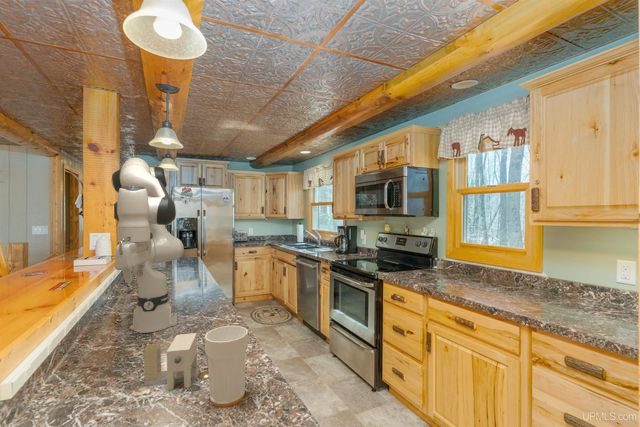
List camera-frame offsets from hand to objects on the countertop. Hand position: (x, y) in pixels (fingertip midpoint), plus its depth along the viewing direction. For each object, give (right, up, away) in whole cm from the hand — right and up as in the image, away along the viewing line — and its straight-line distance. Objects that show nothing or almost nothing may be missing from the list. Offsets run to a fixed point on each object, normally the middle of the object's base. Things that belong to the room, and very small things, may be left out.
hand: (134, 279), depth 98 cm
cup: (+34, -29, -15) cm, 47 cm away
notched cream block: (+18, -29, -5) cm, 34 cm away
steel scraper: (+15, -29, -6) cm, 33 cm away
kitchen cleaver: (+24, -29, +8) cm, 39 cm away
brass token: (+24, -29, -4) cm, 38 cm away
